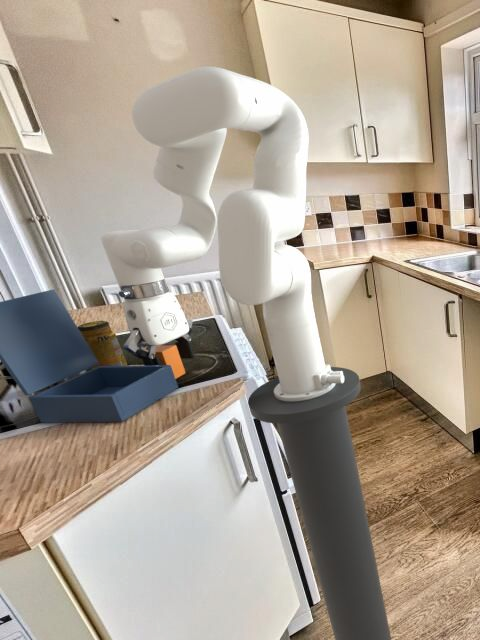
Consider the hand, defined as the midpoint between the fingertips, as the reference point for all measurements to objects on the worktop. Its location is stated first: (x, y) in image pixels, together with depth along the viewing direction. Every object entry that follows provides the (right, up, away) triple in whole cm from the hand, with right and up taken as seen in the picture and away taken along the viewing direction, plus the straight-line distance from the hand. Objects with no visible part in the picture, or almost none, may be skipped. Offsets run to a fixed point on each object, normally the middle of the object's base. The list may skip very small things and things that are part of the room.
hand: (172, 365), depth 95 cm
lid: (-12, +6, -16) cm, 21 cm away
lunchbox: (-3, -7, -11) cm, 13 cm away
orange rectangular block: (-1, -3, 0) cm, 3 cm away
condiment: (-16, -2, +4) cm, 17 cm away
